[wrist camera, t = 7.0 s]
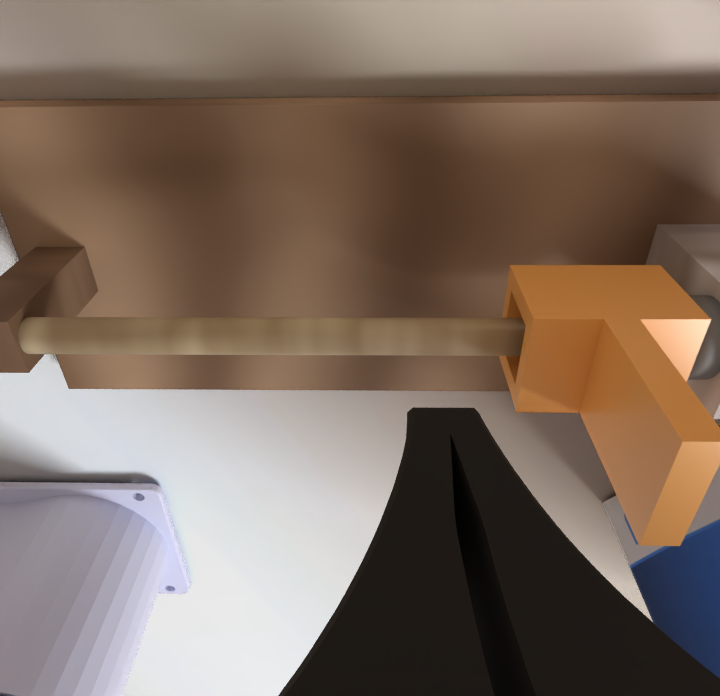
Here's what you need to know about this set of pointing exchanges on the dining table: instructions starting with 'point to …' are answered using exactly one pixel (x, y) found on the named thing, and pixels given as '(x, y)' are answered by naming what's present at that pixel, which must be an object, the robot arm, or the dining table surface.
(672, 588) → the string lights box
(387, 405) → the dining table surface
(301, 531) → the dining table surface
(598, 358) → the orange plastic bracket
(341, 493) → the dining table surface
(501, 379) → the cord rail
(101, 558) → the robot arm
